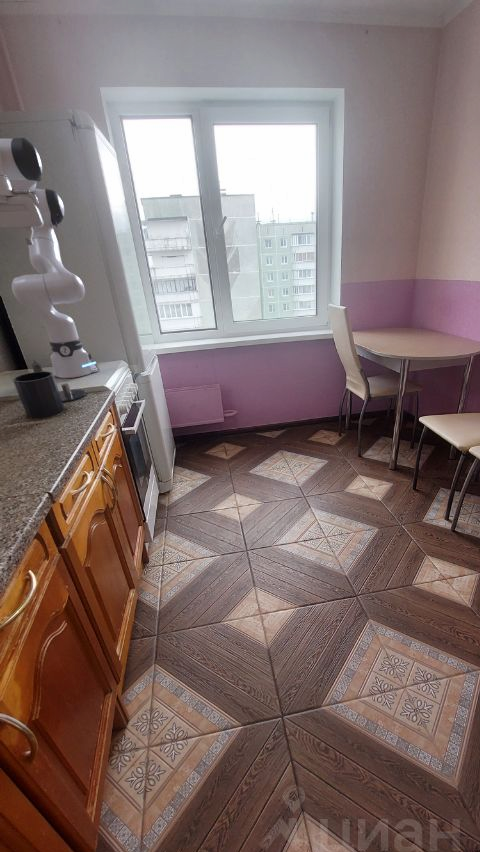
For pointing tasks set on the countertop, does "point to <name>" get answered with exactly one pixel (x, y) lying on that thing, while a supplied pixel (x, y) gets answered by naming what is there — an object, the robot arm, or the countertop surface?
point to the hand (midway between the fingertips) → (13, 245)
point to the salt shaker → (36, 366)
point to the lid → (71, 393)
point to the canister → (39, 394)
